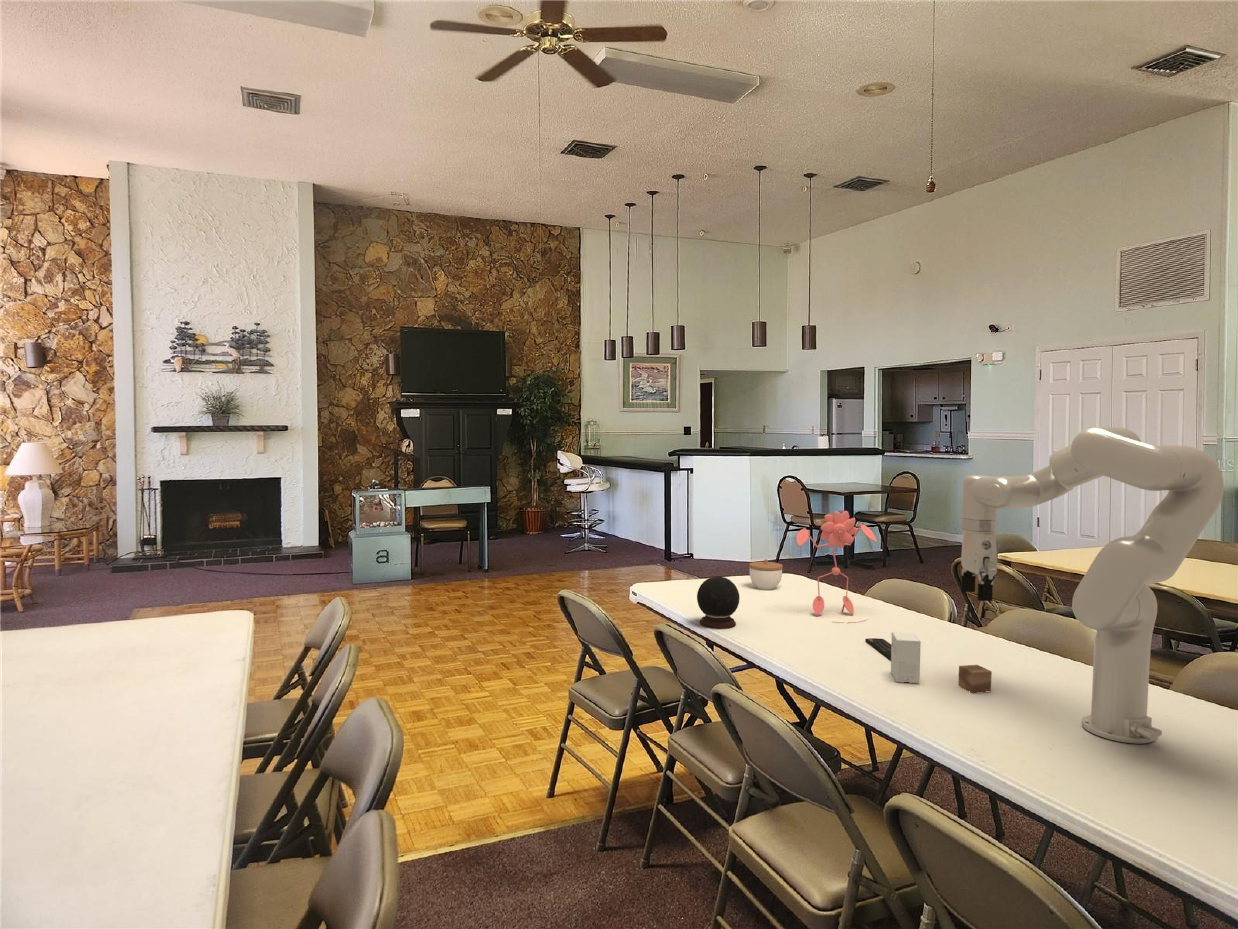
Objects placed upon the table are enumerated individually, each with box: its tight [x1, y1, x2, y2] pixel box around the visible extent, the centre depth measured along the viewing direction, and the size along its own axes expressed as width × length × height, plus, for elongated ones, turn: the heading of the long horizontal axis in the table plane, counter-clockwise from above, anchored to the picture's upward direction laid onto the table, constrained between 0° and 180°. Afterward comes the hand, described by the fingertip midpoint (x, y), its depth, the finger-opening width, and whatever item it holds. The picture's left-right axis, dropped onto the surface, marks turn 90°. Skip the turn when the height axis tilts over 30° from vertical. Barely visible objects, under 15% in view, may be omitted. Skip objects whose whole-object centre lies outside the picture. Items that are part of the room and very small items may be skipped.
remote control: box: [864, 637, 891, 661], centre depth 207 cm, size 5×24×1 cm, turn 3°
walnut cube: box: [957, 664, 993, 694], centre depth 179 cm, size 5×5×5 cm
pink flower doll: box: [796, 510, 878, 624], centre depth 245 cm, size 15×26×35 cm, turn 95°
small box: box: [890, 631, 922, 684], centre depth 186 cm, size 8×6×10 cm
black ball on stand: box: [696, 575, 740, 630], centre depth 235 cm, size 13×13×15 cm
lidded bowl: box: [748, 558, 784, 591], centre depth 289 cm, size 13×13×11 cm
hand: (976, 596), depth 183 cm, fingers open, 9 cm apart
